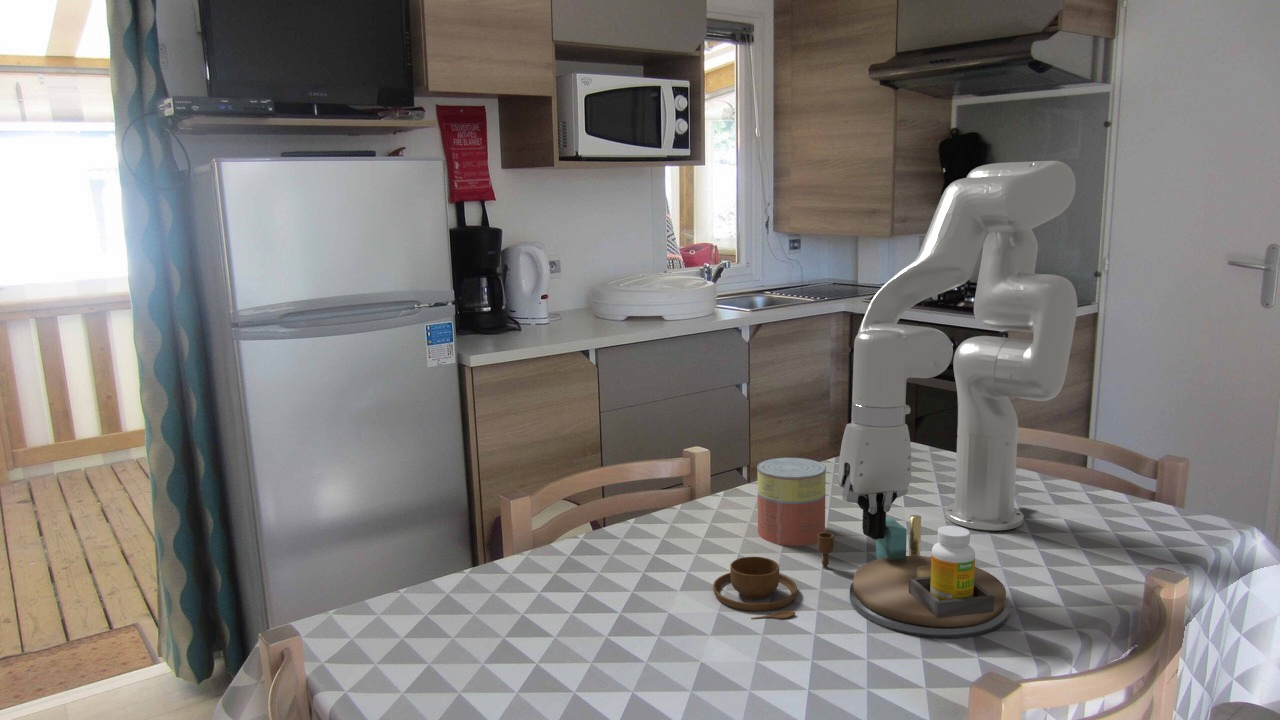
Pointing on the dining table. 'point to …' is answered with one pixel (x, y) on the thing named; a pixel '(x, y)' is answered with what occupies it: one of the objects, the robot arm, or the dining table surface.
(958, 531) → the supplement bottle
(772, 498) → the canned food
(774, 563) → the place setting
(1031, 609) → the dining table surface
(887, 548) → the turntable plate
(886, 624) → the flange base
